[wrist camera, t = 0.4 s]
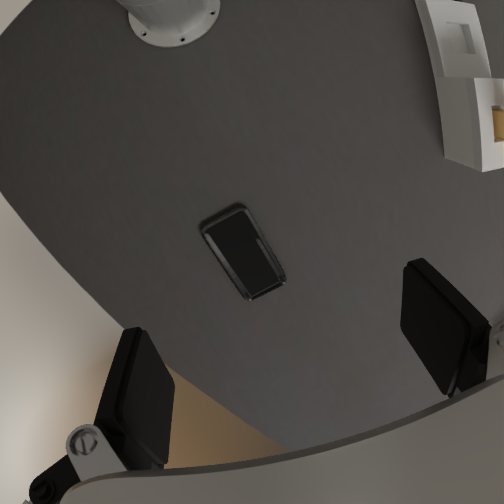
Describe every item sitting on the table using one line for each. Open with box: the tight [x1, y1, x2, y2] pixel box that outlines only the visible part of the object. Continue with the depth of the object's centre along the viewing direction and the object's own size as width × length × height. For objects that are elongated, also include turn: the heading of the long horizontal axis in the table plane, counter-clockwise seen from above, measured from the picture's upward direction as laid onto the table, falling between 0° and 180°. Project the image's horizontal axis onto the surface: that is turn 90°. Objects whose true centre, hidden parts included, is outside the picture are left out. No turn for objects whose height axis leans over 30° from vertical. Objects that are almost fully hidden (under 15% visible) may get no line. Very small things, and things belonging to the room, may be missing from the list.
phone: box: [201, 206, 286, 301], centre depth 50 cm, size 8×1×15 cm
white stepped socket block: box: [415, 0, 504, 172], centre depth 34 cm, size 28×12×10 cm, turn 14°
